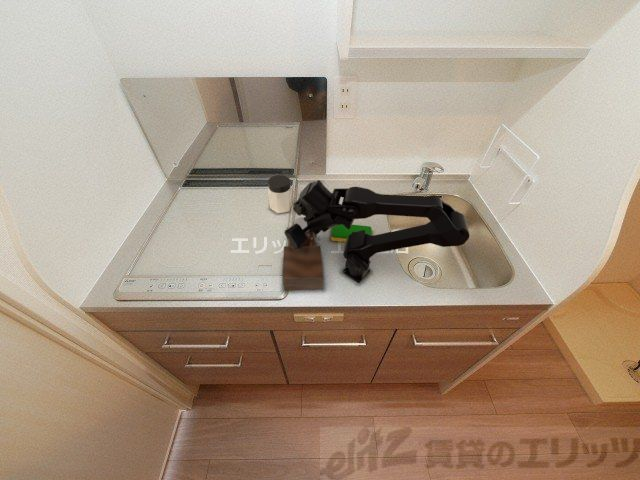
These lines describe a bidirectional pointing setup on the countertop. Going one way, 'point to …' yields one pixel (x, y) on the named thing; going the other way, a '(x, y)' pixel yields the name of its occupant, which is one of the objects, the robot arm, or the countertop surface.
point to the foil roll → (303, 224)
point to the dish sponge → (347, 231)
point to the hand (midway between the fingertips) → (298, 228)
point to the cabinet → (302, 268)
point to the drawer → (312, 241)
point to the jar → (280, 193)
